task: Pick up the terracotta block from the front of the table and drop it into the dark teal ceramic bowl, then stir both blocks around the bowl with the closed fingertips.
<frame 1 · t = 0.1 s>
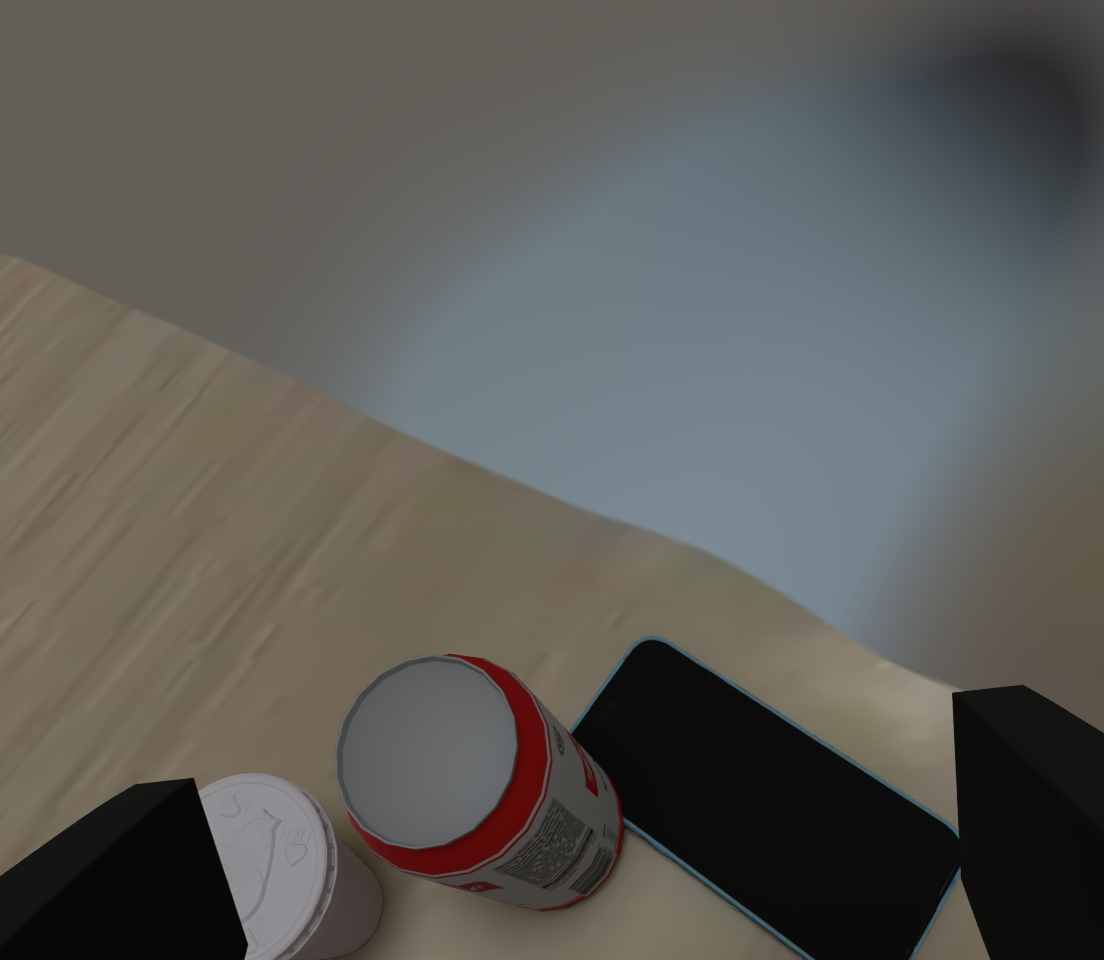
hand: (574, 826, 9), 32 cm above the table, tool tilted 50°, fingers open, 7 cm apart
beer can: (553, 829, 41), on the table
smoothie: (340, 907, 41), on the table
smartphone: (751, 806, 40), on the table
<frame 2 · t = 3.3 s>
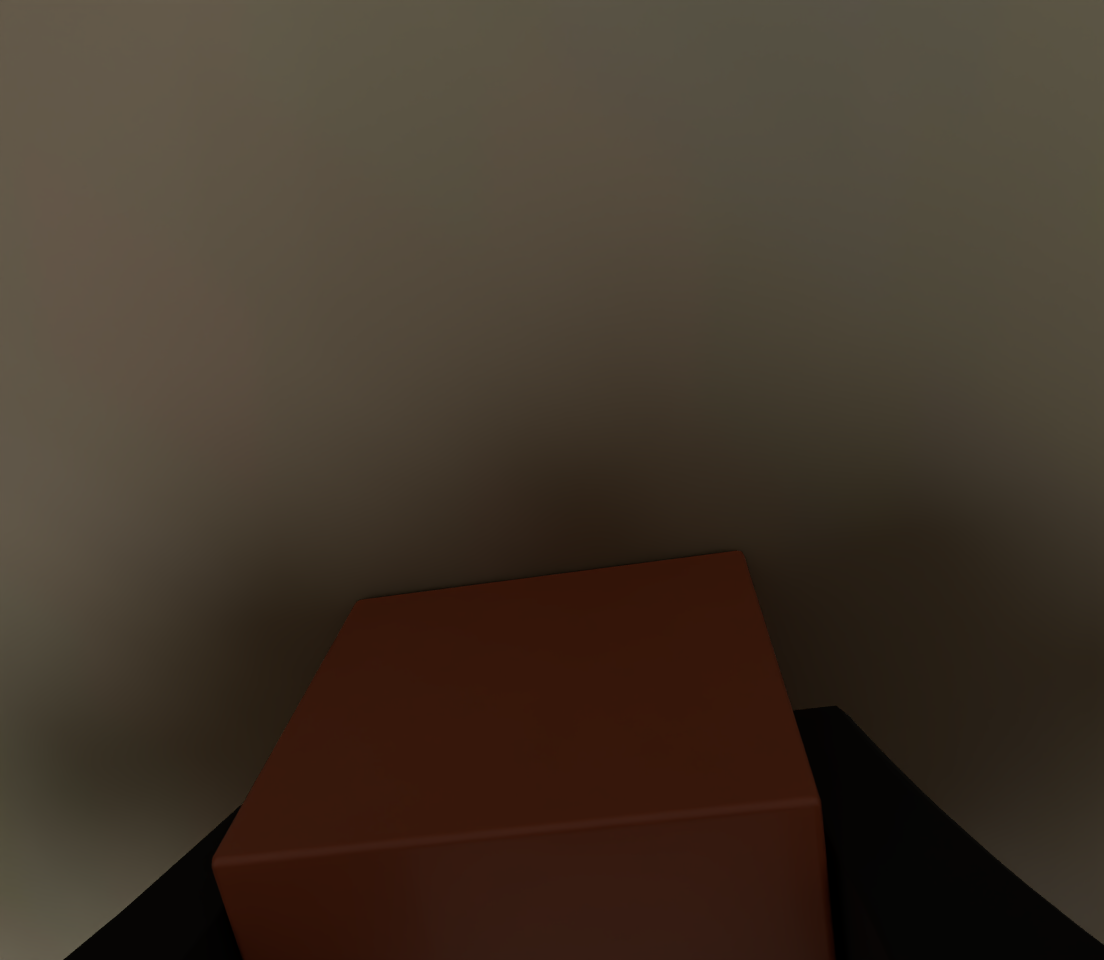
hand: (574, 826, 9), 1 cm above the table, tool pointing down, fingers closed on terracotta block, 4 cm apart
terracotta block: (576, 741, 11), on the table, touching gripper
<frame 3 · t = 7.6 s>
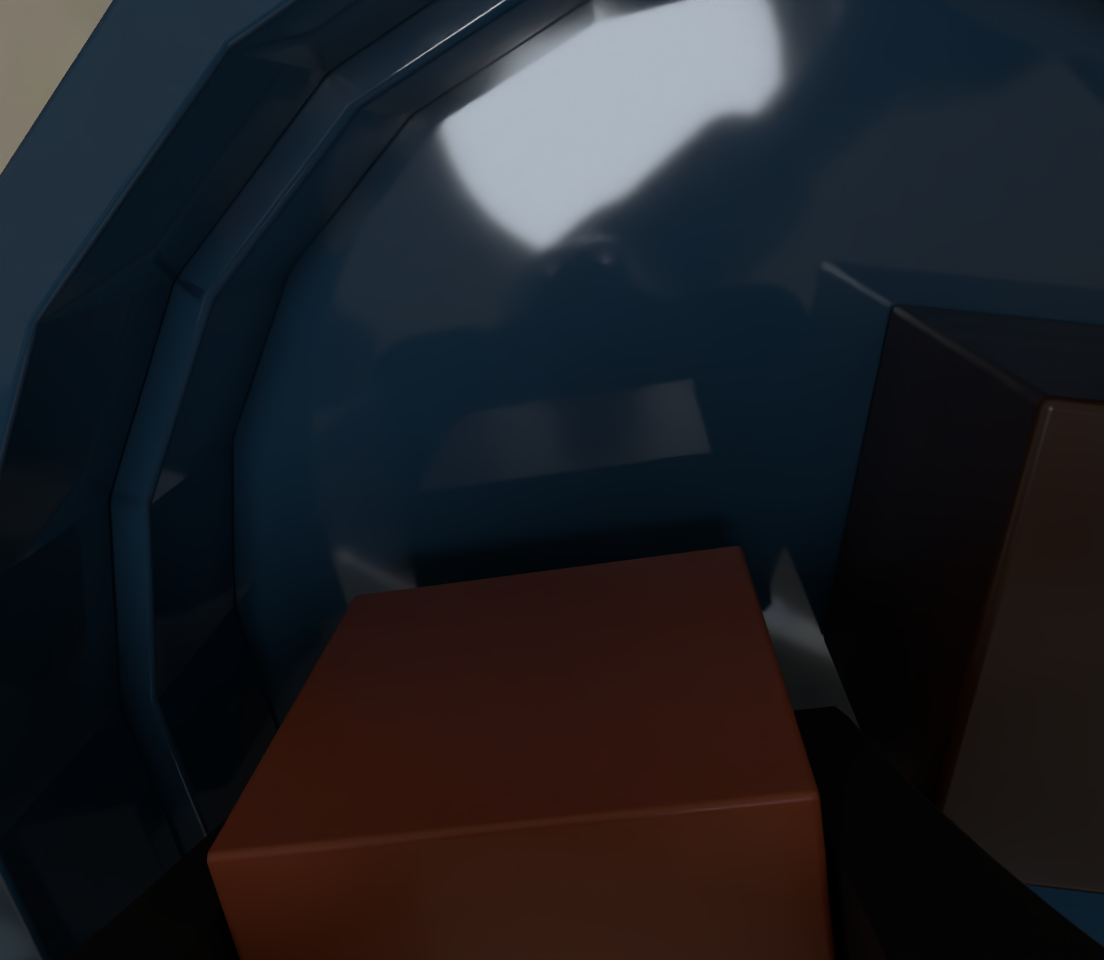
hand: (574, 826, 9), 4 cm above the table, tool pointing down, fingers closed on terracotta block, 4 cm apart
teal bowl: (787, 568, 12), on the table
terracotta block: (574, 737, 11), point 2 cm above the table, touching gripper
walnut block: (1033, 500, 11), point 1 cm above the table, touching gripper, teal bowl
when the fingers open (2 cm above the table, at t = 8.7 s): terracotta block stays where it is, resting on teal bowl.
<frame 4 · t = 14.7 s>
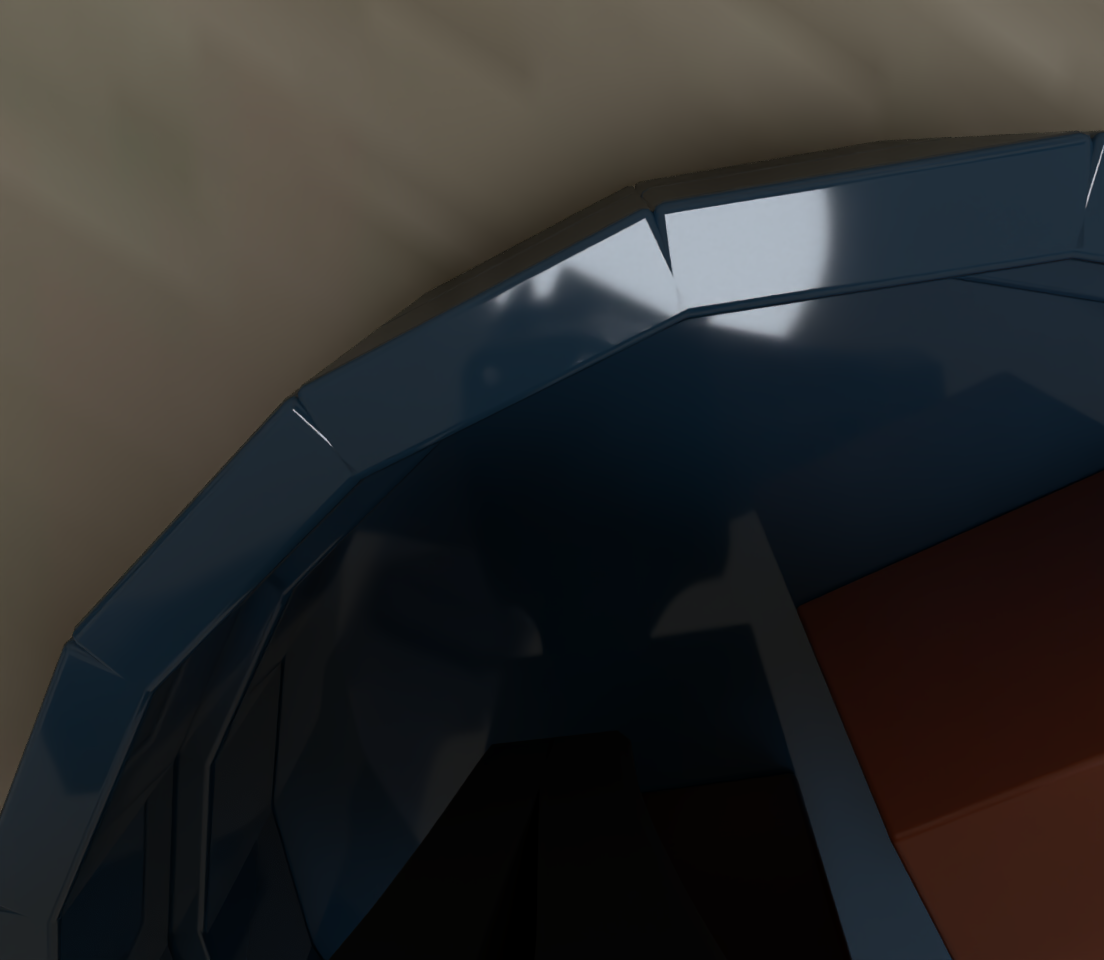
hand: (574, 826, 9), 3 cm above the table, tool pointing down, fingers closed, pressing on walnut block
teal bowl: (812, 793, 13), on the table
terracotta block: (1031, 676, 11), point 1 cm above the table, touching teal bowl
walnut block: (655, 924, 13), point 1 cm above the table, touching gripper, teal bowl
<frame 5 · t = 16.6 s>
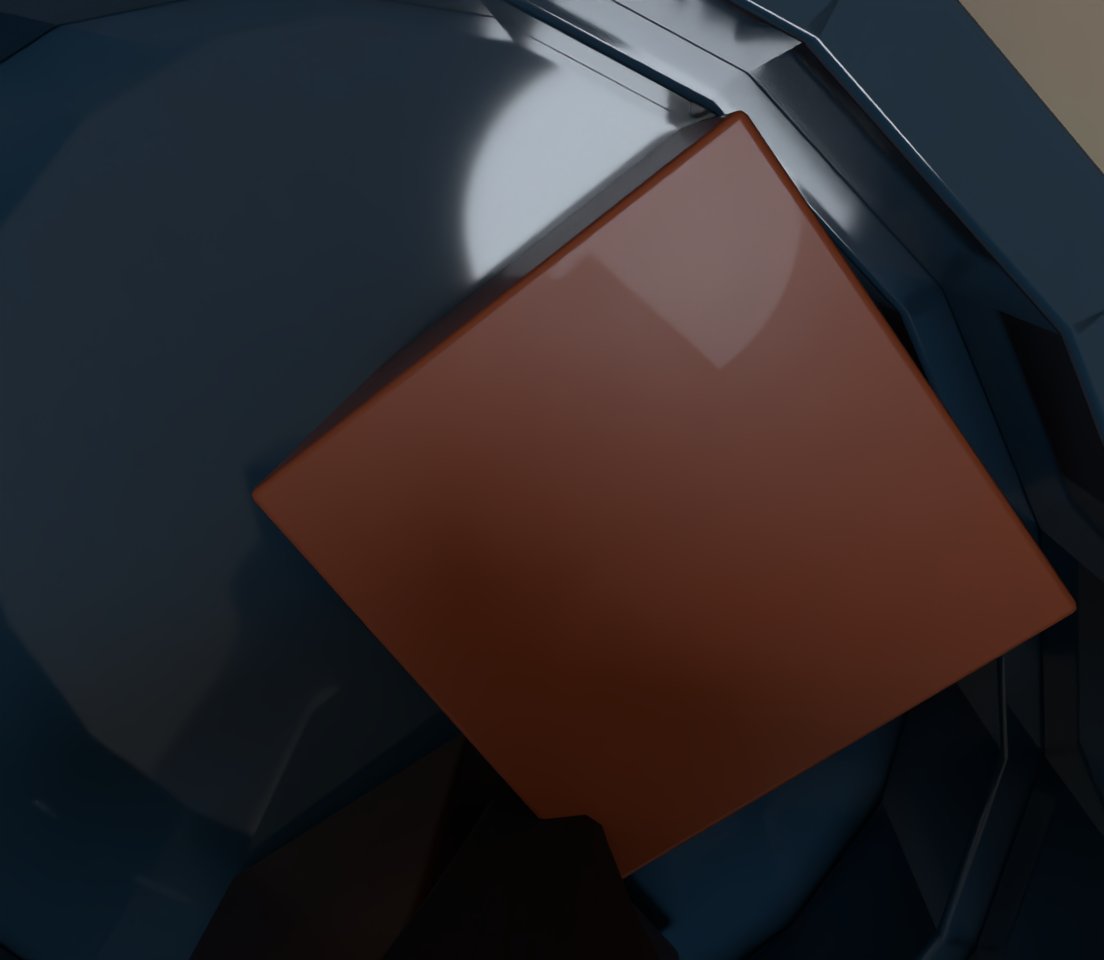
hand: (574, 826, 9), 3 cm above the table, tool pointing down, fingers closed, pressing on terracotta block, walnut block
teal bowl: (343, 608, 12), on the table
terracotta block: (641, 407, 10), point 1 cm above the table, touching gripper, teal bowl
walnut block: (453, 912, 12), point 1 cm above the table, tilted 5°, touching gripper, teal bowl
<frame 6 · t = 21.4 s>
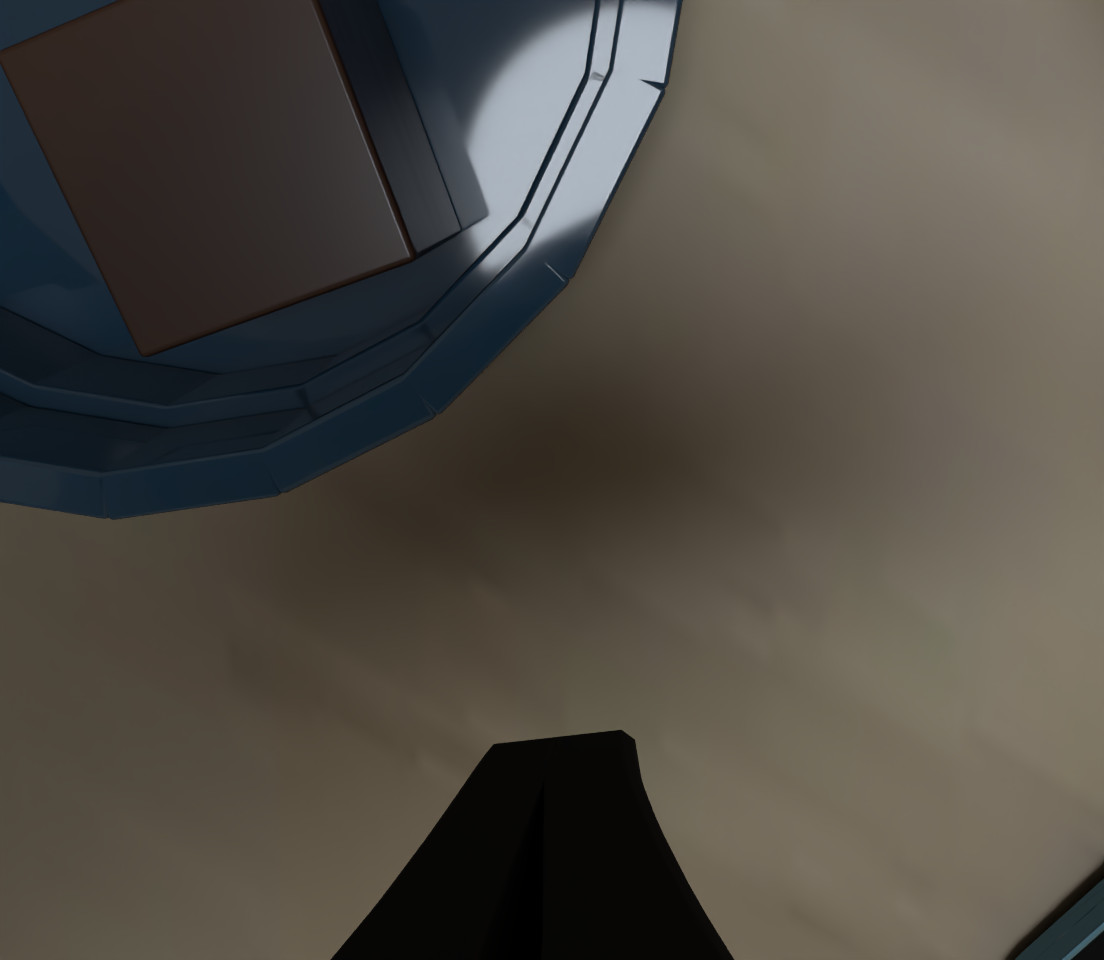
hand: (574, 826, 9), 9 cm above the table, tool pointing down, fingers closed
walnut block: (304, 154, 16), point 1 cm above the table, touching teal bowl
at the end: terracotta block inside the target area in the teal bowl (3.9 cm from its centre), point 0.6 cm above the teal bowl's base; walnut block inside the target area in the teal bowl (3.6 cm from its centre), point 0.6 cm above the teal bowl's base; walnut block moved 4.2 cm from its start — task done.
